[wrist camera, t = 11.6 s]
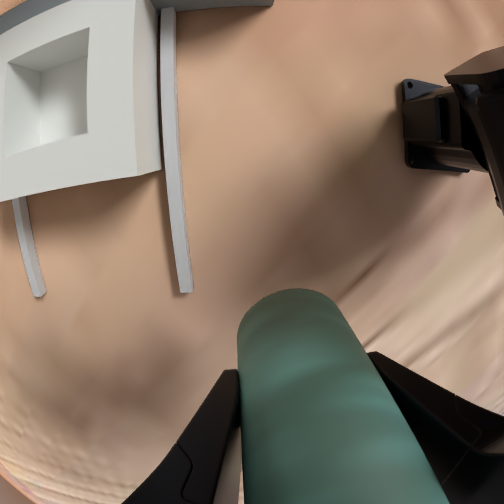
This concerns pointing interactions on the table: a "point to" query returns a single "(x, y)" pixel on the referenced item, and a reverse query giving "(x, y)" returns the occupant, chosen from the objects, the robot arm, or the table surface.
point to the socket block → (79, 96)
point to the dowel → (320, 412)
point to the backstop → (166, 5)
